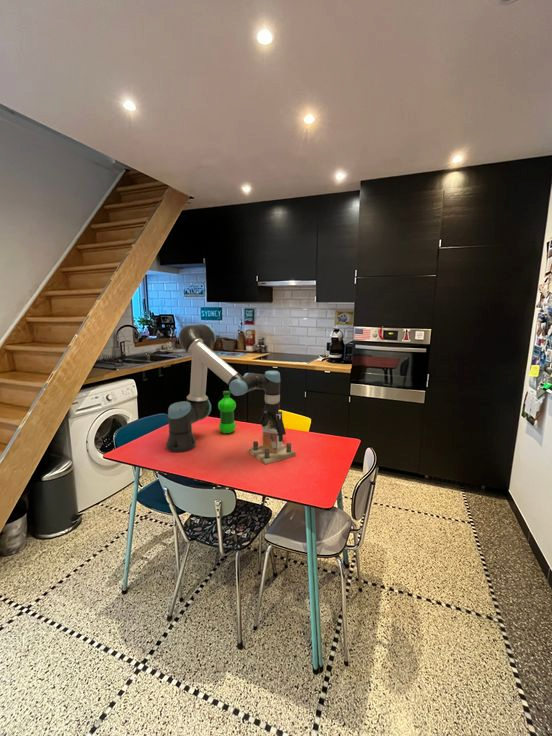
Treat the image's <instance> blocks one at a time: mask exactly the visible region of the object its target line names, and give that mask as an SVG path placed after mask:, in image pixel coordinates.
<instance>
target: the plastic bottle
mask: <svg viewBox="0 0 552 736" xmlns="http://www.w3.org/2000/svg"><path fill="white" fill-rule="evenodd" d="M231 394H232V393H231V391H230V390H224V391H223V390H222V395H223V397H222V399H221V400H219V401H218V404H217V408H218V410H219V412H220V413H219V414H220V415H219V416H220V422H219V425H218V428H219V430H220V431H221V433H223V434H225V433H230V434H232V433H233V432H234V430H235V429H236V426H237V425H236V422H235V409H236V407H237V403H236V401H235V400H234V399H233V398H231V397H230V396H231ZM231 432H232V433H231Z"/></svg>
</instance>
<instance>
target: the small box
mask: <svg viewBox="0 0 552 736" xmlns="http://www.w3.org/2000/svg"><path fill="white" fill-rule="evenodd" d="M277 435H278V433H277V430H274V429H268V428H267V429H266V430H265V431H263V438H262V445H263V451H265V449H269V452H271V453H276V454H277V453H278V452H279V451H280V450H281V447H279V448H277Z"/></svg>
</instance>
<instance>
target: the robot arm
mask: <svg viewBox="0 0 552 736" xmlns="http://www.w3.org/2000/svg"><path fill="white" fill-rule="evenodd" d="M178 341H179V344H180V346H181V348H182V349H183V350H184V351H185V352H186V353H188V354H189V355H191V365H190V366H191V367H190V368H191V369H190V371H191V372H190V384H189V386H190V387H189V394H188V395H187V396H186V401H185V400H184V401H183V400H182V401H177V402H174V403H171V404H170V405H169V407H168V410H167V419H168V437H167V441H166V444H165V445H166V450H167V449H168V450H167V451H169V450H170V451H169V452H171V451H174V452H173V453H184V452H188V451H191V450H194V448H196V444H197V443H196V439H195V436H194V433H193V428H192V425H193V424H194V423H197V422H199V421H202V420H204V419H206V418H207V417H208V416H209V415H210V413H211V412H212V404H211V402H210V400H209V397H208V395H206V392H207V381H208V379H207V376H208V369H209V370H211V371H212V372H213V373H214V374H215V375H216V376H217V377H219V379H221V380H222V381H223V382H224V383H226V384H227V386H229V387H228V389H229V391H230V392H231V394H232V395H233V396H237V397H238V396H243V395H245V394H246V393H249V392H252V391H254V390H264V402H265V403H264V408H263V409H262V414H261V418H260V420H259V424H260V425H261V426H262V427H261V428H262V429H261V430H262V435H261V436H262V439H263V431H265V430H266V429H267V428H268V426H266V425H267V424H268V422H269V421H270V420H271V421H272V422H273V423H274V425H275V428H276V430H277V433H278V435H277V448H279V447H282V444H283V440H284V435H287V433H286V429H285V425H284V421H283V413H282V414H280V415H279V414H278V411H280V410H281V403H280V401H281V381H282V380H281V374H280V372H279V371H278V370H267V371H265V372H264V373H263V374H261V373H255V372H246V373H244V375H243V376H242V374H240V373H239V372H238V371H236V369H234V368H233V366H231V365H230V364H228V363H227V361H225V360H224V359H223V358H222V357H220V356H219V355H218V354H217V353H215V352H214V351H213V350H212V349H213V347H212V346H213V345H214V344H215V343H216V341H217V333H216V330H215V329H214V328H213V327H212V326H211V325H210V324H204V323H203V324H202V323H201V324H193V325H191V324H189V325H186V326H184V327H182V328H181V329H180V331H179V333H178ZM276 419H277V420H276Z"/></svg>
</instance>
